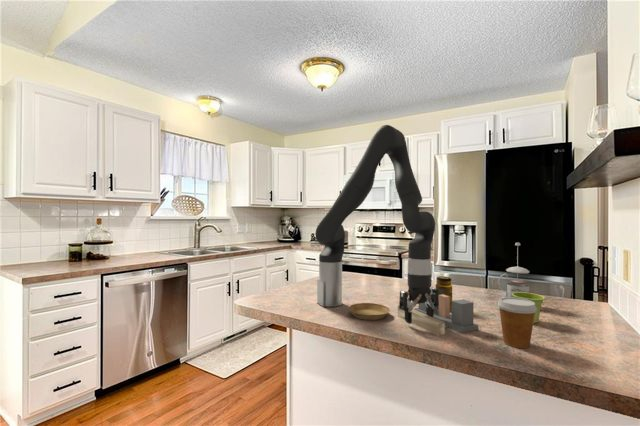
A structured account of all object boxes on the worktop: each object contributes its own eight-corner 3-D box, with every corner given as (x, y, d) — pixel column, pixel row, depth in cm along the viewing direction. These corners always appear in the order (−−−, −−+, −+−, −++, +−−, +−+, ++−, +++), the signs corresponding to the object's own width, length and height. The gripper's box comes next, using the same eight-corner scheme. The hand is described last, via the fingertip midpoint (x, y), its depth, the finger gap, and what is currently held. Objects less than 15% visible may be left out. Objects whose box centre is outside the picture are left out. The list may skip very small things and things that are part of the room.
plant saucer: (341, 312, 121) (341, 305, 121) (375, 307, 127) (375, 300, 127) (361, 325, 107) (361, 317, 107) (398, 319, 113) (398, 311, 113)
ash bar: (437, 336, 97) (437, 323, 97) (397, 316, 116) (397, 305, 116) (444, 335, 98) (444, 322, 98) (403, 316, 117) (403, 305, 117)
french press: (535, 309, 124) (535, 244, 124) (501, 306, 128) (501, 243, 128) (528, 302, 133) (528, 241, 133) (496, 300, 137) (496, 240, 137)
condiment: (457, 309, 124) (457, 278, 124) (443, 313, 120) (443, 280, 120) (440, 304, 130) (440, 274, 130) (426, 308, 126) (427, 277, 126)
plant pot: (539, 318, 114) (539, 293, 114) (548, 327, 105) (548, 300, 105) (509, 315, 117) (509, 291, 117) (515, 323, 108) (515, 297, 108)
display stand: (461, 333, 100) (461, 305, 100) (414, 312, 120) (414, 289, 120) (478, 329, 102) (478, 302, 102) (429, 310, 123) (429, 287, 123)
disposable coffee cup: (490, 337, 96) (490, 297, 96) (520, 336, 97) (520, 296, 97) (511, 351, 86) (512, 306, 86) (545, 350, 87) (545, 305, 87)
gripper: (428, 268, 113) (428, 315, 113) (394, 271, 108) (394, 320, 108) (444, 272, 106) (444, 322, 106) (408, 275, 101) (408, 327, 101)
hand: (419, 321), depth 107 cm, fingers open, 8 cm apart
